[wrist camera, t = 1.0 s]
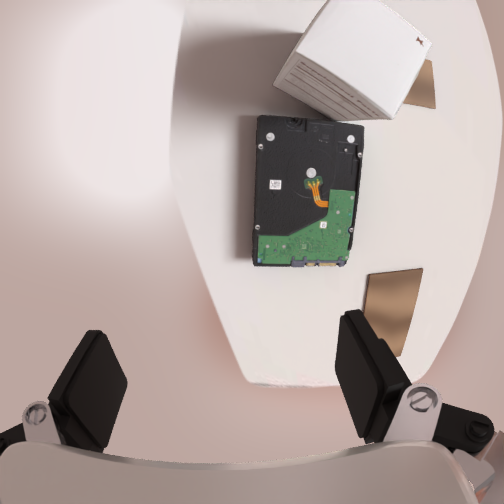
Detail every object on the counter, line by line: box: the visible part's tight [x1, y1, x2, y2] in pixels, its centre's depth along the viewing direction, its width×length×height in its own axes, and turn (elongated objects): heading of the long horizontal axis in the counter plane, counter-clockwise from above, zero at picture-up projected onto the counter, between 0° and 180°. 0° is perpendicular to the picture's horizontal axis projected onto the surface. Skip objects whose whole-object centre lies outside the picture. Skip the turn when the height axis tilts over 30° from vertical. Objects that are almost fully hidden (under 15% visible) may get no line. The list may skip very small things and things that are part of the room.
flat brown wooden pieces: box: [363, 59, 436, 357], centre depth 30 cm, size 41×8×1 cm, turn 3°
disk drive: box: [252, 115, 364, 267], centre depth 28 cm, size 10×3×15 cm
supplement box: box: [273, 0, 432, 122], centre depth 18 cm, size 7×7×13 cm
